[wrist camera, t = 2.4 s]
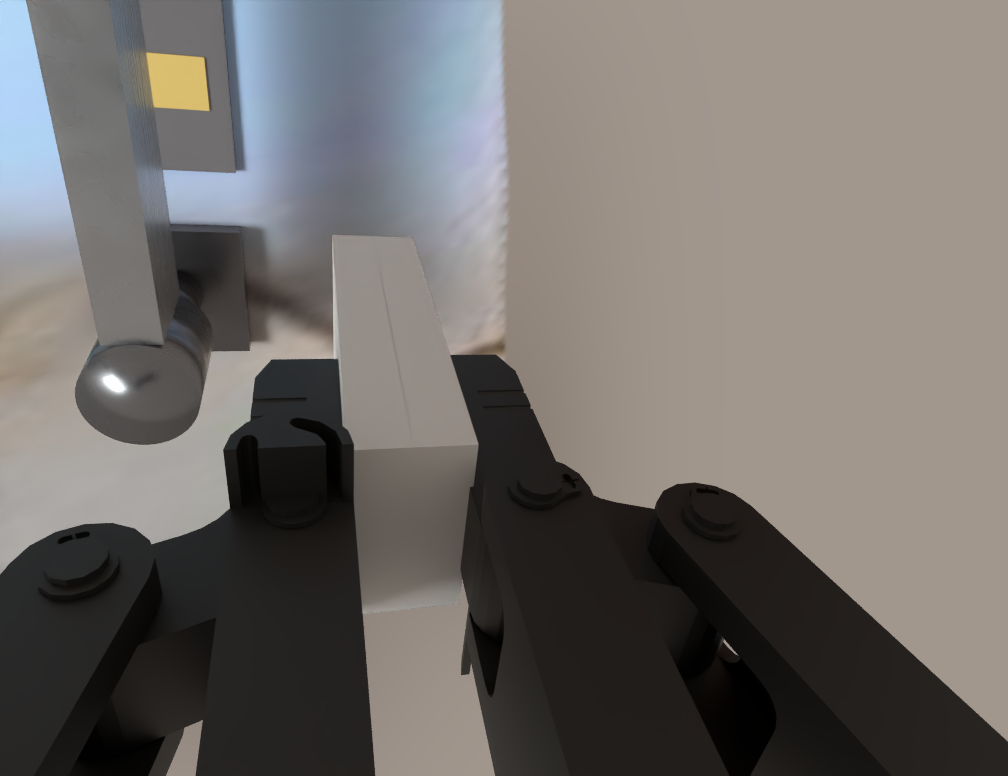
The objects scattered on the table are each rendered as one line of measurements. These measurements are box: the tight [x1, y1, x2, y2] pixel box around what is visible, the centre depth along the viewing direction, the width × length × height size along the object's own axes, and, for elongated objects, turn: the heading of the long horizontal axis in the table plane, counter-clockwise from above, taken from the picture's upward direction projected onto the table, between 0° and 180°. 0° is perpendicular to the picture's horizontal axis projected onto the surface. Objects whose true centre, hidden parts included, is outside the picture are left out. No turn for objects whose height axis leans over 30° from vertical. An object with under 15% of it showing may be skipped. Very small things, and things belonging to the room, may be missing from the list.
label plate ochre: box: [139, 0, 236, 173], centre depth 28 cm, size 6×7×1 cm
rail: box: [26, 0, 214, 445], centre depth 22 cm, size 4×22×5 cm, turn 173°
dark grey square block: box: [170, 224, 251, 351], centre depth 31 cm, size 6×6×4 cm
